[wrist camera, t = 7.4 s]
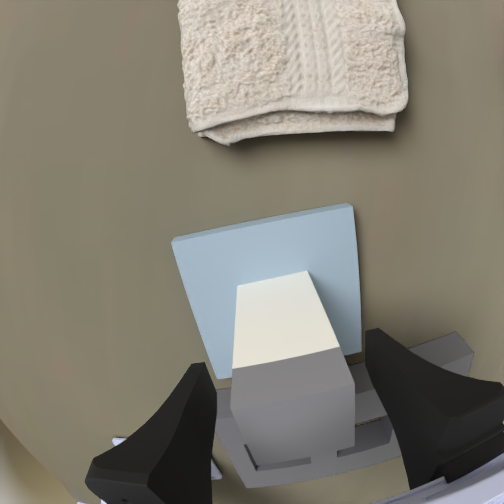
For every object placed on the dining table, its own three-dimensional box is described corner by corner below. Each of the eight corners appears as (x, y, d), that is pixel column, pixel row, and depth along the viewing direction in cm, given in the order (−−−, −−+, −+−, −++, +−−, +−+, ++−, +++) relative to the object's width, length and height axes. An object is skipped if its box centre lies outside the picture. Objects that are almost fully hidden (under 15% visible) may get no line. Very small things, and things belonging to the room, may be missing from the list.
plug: (252, 341, 19) (256, 465, 10) (237, 285, 17) (230, 408, 9) (316, 328, 18) (354, 446, 10) (307, 270, 17) (354, 383, 9)
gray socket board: (246, 464, 25) (246, 488, 23) (212, 390, 21) (209, 419, 19) (433, 418, 24) (443, 438, 22) (456, 331, 20) (474, 352, 18)
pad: (218, 369, 21) (217, 379, 20) (175, 237, 17) (171, 242, 16) (357, 343, 20) (361, 351, 19) (347, 202, 17) (352, 206, 16)
